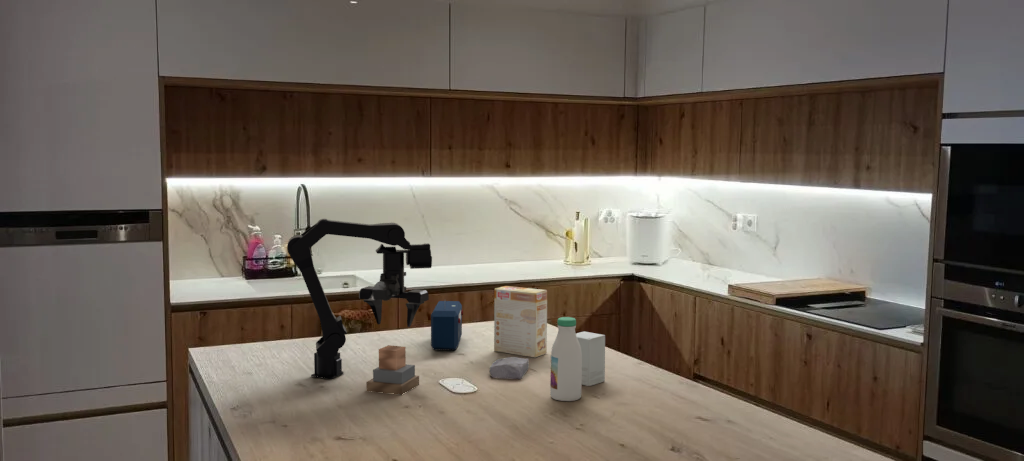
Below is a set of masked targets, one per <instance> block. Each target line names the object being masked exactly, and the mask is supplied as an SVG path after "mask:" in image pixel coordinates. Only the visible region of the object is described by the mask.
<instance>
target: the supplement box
mask: <svg viewBox="0 0 1024 461" xmlns="http://www.w3.org/2000/svg"><path fill="white" fill-rule="evenodd" d="M575 333H576V332H575ZM576 336H577V339H578V341H579V344H580V347H581V353H582V383H581V386H582V385H583V386H587V387H591V386H595V385H598V384H600V383H603V382H605V380H606V369H605V368H606V335H605V334H601V333H594V332H589V331H585V330H584V331H580V332H577V333H576Z"/></svg>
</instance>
